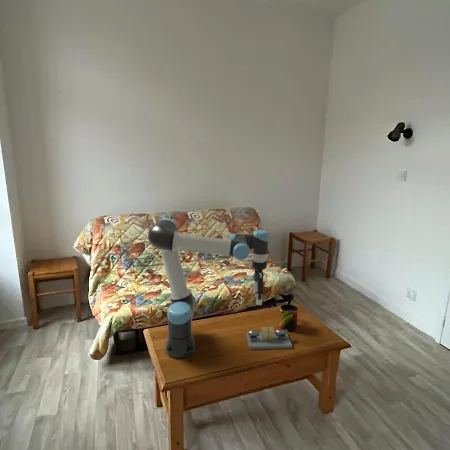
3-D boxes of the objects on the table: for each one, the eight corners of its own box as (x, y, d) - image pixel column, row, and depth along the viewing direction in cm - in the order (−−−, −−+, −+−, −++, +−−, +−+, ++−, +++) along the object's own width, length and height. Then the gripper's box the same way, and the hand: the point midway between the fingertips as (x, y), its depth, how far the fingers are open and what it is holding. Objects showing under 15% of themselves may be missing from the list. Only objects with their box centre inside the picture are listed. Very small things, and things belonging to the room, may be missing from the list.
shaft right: (276, 341, 179) (277, 333, 178) (273, 336, 183) (274, 328, 182) (288, 339, 181) (289, 331, 180) (285, 334, 185) (285, 327, 184)
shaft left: (248, 341, 178) (248, 333, 177) (247, 337, 183) (247, 329, 182) (259, 341, 179) (259, 333, 178) (257, 336, 183) (258, 329, 182)
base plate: (249, 349, 175) (249, 346, 174) (246, 335, 187) (246, 332, 187) (292, 348, 176) (292, 345, 176) (286, 334, 188) (286, 331, 188)
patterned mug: (288, 318, 205) (289, 300, 202) (299, 330, 192) (301, 311, 189) (273, 320, 203) (274, 302, 200) (283, 333, 190) (285, 313, 187)
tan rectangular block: (272, 336, 183) (272, 326, 182) (273, 341, 179) (274, 330, 178) (261, 336, 183) (261, 326, 182) (262, 341, 179) (262, 330, 178)
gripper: (270, 269, 163) (268, 310, 169) (263, 252, 188) (261, 288, 193) (255, 269, 163) (252, 309, 168) (249, 252, 187) (248, 288, 193)
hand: (257, 298), depth 181 cm, fingers open, 13 cm apart
